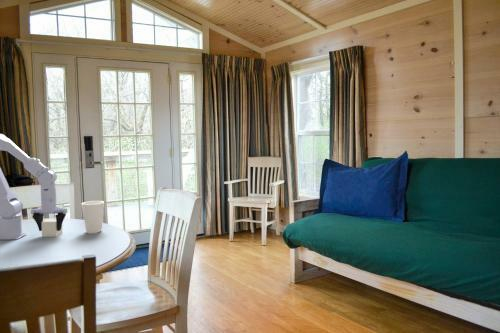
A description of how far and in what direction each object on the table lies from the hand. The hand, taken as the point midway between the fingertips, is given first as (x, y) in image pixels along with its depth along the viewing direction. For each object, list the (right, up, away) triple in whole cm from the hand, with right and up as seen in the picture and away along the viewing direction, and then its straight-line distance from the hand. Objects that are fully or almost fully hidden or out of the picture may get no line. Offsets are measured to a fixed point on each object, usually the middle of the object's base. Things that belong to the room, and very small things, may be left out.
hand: (50, 230), depth 177 cm
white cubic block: (0, -2, +2) cm, 3 cm away
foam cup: (+16, -2, +7) cm, 18 cm away
